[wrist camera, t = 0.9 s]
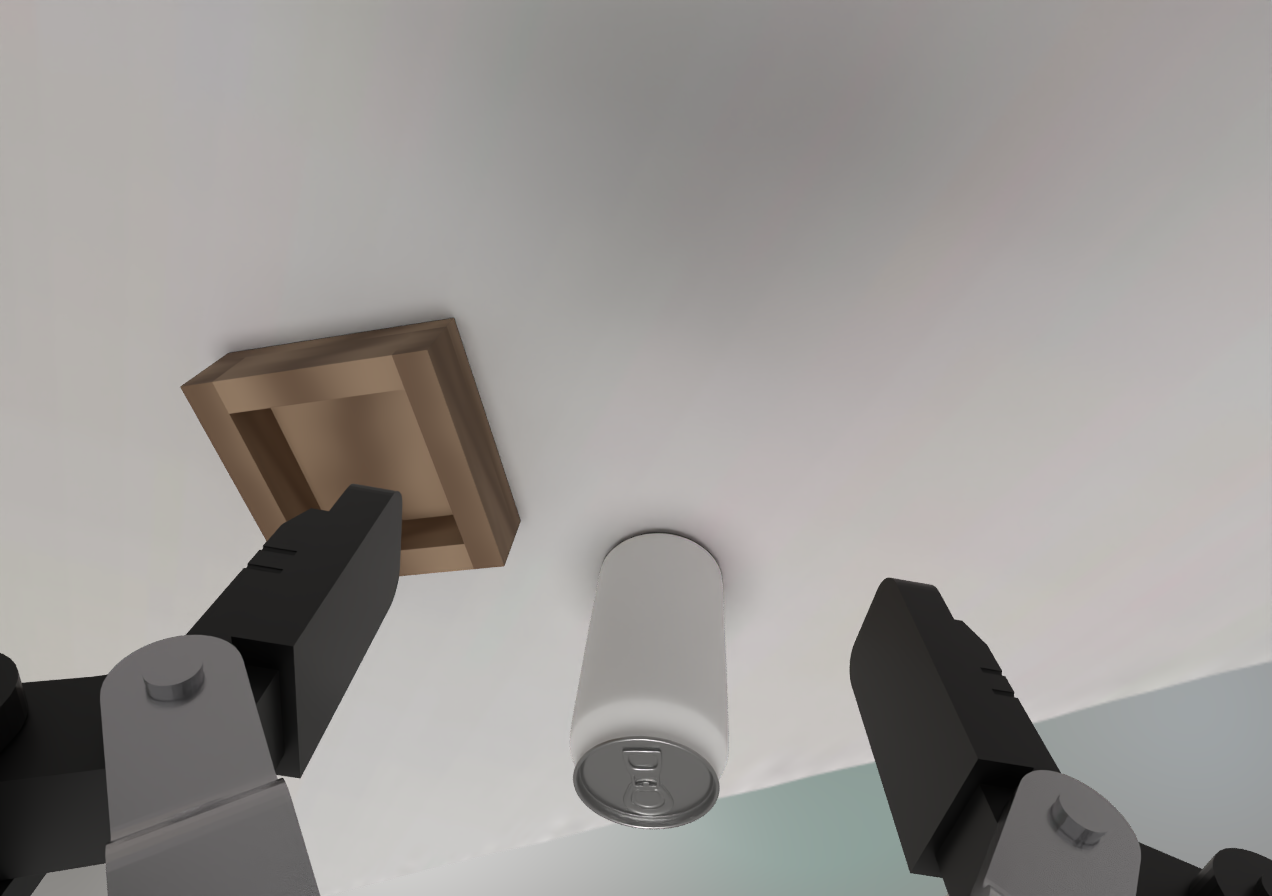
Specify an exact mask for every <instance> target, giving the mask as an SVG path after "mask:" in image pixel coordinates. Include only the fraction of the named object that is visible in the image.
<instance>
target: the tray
mask: <svg viewBox="0 0 1272 896" xmlns="http://www.w3.org/2000/svg"><path fill="white" fill-rule="evenodd" d="M181 389H182V391H183V393H184V394H185V396H186V398H187V400H188V402H189V403H190V405H191V407H192V409H193V410H194V412H195V414H196V416H197V418H198V419H199V421H200V423H201V425H202V427H203V428H204V430H205V432H206V434H207V435H208V437H209V439H210V441H211V443H212V444H213V446H214V448H215V450H216V452H217V453H218V455H219V457H220V459H221V461H222V462H223V464H224V466H225V468H226V469H227V471H228V473H229V475H230V477H231V478H232V480H233V482H234V484H235V486H236V487H237V489H238V491H239V493H240V494H241V496H242V498H243V500H244V502H245V503H246V505H247V507H248V509H249V511H250V512H251V514H252V516H253V518H254V520H255V521H256V523H257V525H258V527H259V528H260V530H261V532H262V534H263V536H264V537H265V539H266V541H268V540H269V538H270V537H271V536H272V535H273V534H274V533H275V531H276V530H277V529H278V528H279V527H280V526H281V525H282V524H283V523H285V522H287V521H289V520H290V519H292V518H294V517H296V516H298V515H300V514H301V513H303V512H305V511H307V510H309V509H311V508H313V509H319V510H325V511H329V510H330V509H331V508H332V507H333V505H334V504H335V503H336V501H337V500H338V499H339V498H340V496H341V495H342V494H343V493H344V491H345V490H346V489H347V487H348V486H349V485H351V484H359V485H365V486H371V487H376V488H382V489H388V490H394V491H399V492H400V493H401V495H402V529H401V556H400V573H399V576H406V575H417V574H427V573H438V572H448V571H459V570H469V569H480V568H490V567H501V566H505V563H506V560H507V557H508V555H509V552H510V549H511V546H512V544H513V541H514V538H515V535H516V533H517V530H518V527H519V524H520V518H519V515H518V512H517V509H516V506H515V503H514V499H513V496H512V493H511V490H510V487H509V484H508V481H507V478H506V475H505V472H504V469H503V466H502V463H501V460H500V457H499V454H498V451H497V448H496V445H495V442H494V439H493V436H492V432H491V429H490V426H489V423H488V420H487V417H486V414H485V411H484V408H483V405H482V402H481V399H480V396H479V393H478V390H477V387H476V384H475V381H474V378H473V375H472V372H471V369H470V366H469V362H468V359H467V356H466V353H465V350H464V347H463V344H462V341H461V338H460V335H459V332H458V329H457V326H456V323H455V320H454V318H450V319H444V320H438V321H431V322H425V323H418V324H412V325H406V326H399V327H393V328H386V329H380V330H373V331H367V332H361V333H354V334H348V335H341V336H335V337H329V338H322V339H316V340H309V341H303V342H297V343H290V344H284V345H277V346H271V347H264V348H258V349H252V350H245V351H239V352H232V353H228V354H226V355H225V356H223V357H222V358H221V359H219V360H218V361H216V362H215V363H213V364H212V365H211V366H209V367H208V368H206V369H205V370H203V371H202V372H201V373H199V374H198V375H196V376H195V377H193V378H192V379H191V380H189V381H188V382H186V383H185V384H183V385H182V386H181Z"/></svg>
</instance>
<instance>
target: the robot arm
mask: <svg viewBox="0 0 1272 896" xmlns="http://www.w3.org/2000/svg"><path fill="white" fill-rule="evenodd" d="M401 529H402V495H401V493H400V492H399V491H394V490H388V489H382V488H376V487H371V486H365V485H359V484H351V485H349V486H348V487H347V489H346V490H345V491H344V493H343V494H342V495H341V496H340V498H339V499H338V500H337V501H336V503H335V504H334V505H333V507H332V508H331V509H330V510H329V511H325V510H319V509H313V508H311V509H309V510H307V511H305V512H303V513H301V514H300V515H298V516H296V517H294V518H292V519H290V520H289V521H287V522H285V523H283V524H282V525H281V526H280V527H279V528H278V529H277V530H276V531H275V533H274V534H273V535H272V536H271V537H270V538H269V540H268V541H267V542H266V543H265V544H264V545H263V549H262V550H259V551H258V552H257V553H256V555H255V556H254V557H253V558H252V559H251V560H250V561H249V563H248V566H247V568H243V570H242V571H241V572H240V573H239V574H238V575H237V576H236V578H235V579H234V580H233V581H232V582H231V583H230V585H229V586H228V587H227V588H226V589H225V590H224V591H223V593H222V594H221V595H220V596H219V597H218V598H217V600H216V601H215V602H214V603H213V604H212V605H211V606H210V608H209V609H208V610H207V611H206V612H205V613H204V615H203V616H202V617H201V618H200V619H199V620H198V621H197V623H196V624H195V625H194V626H193V627H192V628H191V629H190V631H189V632H188V633H187V634H186V635H184V636H176V637H171V638H167V639H163V640H160V641H156V642H154V643H151V644H149V645H146V646H144V647H142V648H140V649H138V650H136V651H134V652H133V653H131V654H130V655H128V656H127V657H125V658H124V659H123V660H121V661H120V662H119V663H118V664H117V665H116V666H115V667H114V668H113V669H112V670H111V671H110V672H109V673H108V675H102V676H94V677H84V678H73V679H61V680H49V681H38V682H26V683H21V680H20V676H19V673H18V670H17V667H16V665H15V663H14V662H13V661H12V660H11V659H10V658H9V657H7V656H5V655H4V654H1V653H0V896H30V895H31V894H32V893H33V892H34V890H35V889H36V887H37V886H38V884H39V883H40V882H41V880H42V879H43V877H44V876H45V875H46V873H49V872H55V871H61V870H67V869H73V868H80V867H86V866H91V865H97V864H104V863H106V876H107V890H108V896H320V893H319V890H318V887H317V883H316V880H315V877H314V873H313V870H312V866H311V863H310V860H309V856H308V853H307V850H306V846H305V843H304V840H303V836H302V833H301V829H300V826H299V823H298V819H297V816H296V813H295V809H294V806H293V802H292V799H291V796H290V793H289V790H288V787H287V785H286V782H285V781H284V779H283V778H280V779H277V776H276V775H282V776H288V777H295V778H301V776H302V774H303V772H304V770H305V769H306V767H307V765H308V763H309V761H310V759H311V757H312V755H313V753H314V751H315V749H316V748H317V746H318V744H319V742H320V740H321V738H322V736H323V734H324V732H325V730H326V728H327V727H328V725H329V723H330V721H331V719H332V717H333V715H334V713H335V711H336V709H337V707H338V705H339V704H340V702H341V700H342V698H343V696H344V694H345V692H346V690H347V688H348V686H349V684H350V683H351V681H352V679H353V677H354V675H355V673H356V671H357V669H358V667H359V665H360V663H361V662H362V660H363V658H364V656H365V654H366V652H367V650H368V648H369V646H370V644H371V642H372V641H373V639H374V637H375V635H376V633H377V631H378V629H379V627H380V625H381V623H382V621H383V619H384V618H385V616H386V614H387V612H388V610H389V608H390V606H391V604H392V601H393V598H394V595H395V592H396V588H397V584H398V579H399V573H400V556H401ZM850 680H851V685H852V688H853V691H854V695H855V698H856V701H857V704H858V707H859V711H860V714H861V717H862V720H863V723H864V727H865V730H866V733H867V736H868V739H869V743H870V746H871V749H872V752H873V755H874V759H875V762H876V765H877V768H878V771H879V774H880V778H881V781H882V784H883V787H884V791H885V794H886V797H887V800H888V803H889V807H890V810H891V813H892V816H893V820H894V823H895V826H896V829H897V832H898V835H899V839H900V842H901V845H902V848H903V852H904V855H905V858H906V861H907V864H908V867H909V870H910V873H914V874H921V875H927V876H933V877H940V878H943V880H944V883H945V886H946V889H947V892H948V894H947V895H946V896H1272V860H1270V859H1268V858H1266V857H1264V856H1261V855H1259V854H1257V853H1254V852H1251V851H1247V850H1244V849H1237V848H1226V849H1223V850H1220V851H1219V852H1218V853H1217V854H1216V855H1215V856H1214V857H1213V858H1212V859H1211V860H1210V861H1209V862H1208V863H1207V865H1206V866H1205V867H1204V868H1203V869H1201V868H1198V867H1196V866H1194V865H1191V864H1189V863H1187V862H1184V861H1182V860H1179V859H1177V858H1175V857H1172V856H1170V855H1168V854H1165V853H1163V852H1161V851H1158V850H1156V849H1153V848H1151V847H1149V846H1146V845H1144V844H1142V843H1140V842H1138V840H1137V837H1136V835H1135V833H1134V831H1133V830H1132V828H1131V826H1130V825H1129V823H1128V822H1127V821H1126V819H1125V818H1124V817H1123V815H1122V814H1121V813H1120V812H1119V811H1118V810H1117V809H1116V808H1115V807H1114V806H1113V805H1112V804H1111V803H1110V802H1109V801H1108V800H1107V799H1105V798H1104V797H1103V796H1102V795H1100V794H1099V793H1098V792H1097V791H1095V790H1094V789H1092V788H1090V787H1089V786H1087V785H1086V784H1084V783H1082V782H1080V781H1079V780H1077V779H1074V778H1072V777H1070V776H1068V775H1065V774H1062V773H1061V772H1060V771H1059V769H1058V767H1057V765H1056V764H1055V762H1054V760H1053V759H1052V757H1051V755H1050V753H1049V752H1048V750H1047V748H1046V746H1045V745H1044V743H1043V741H1042V739H1041V738H1040V736H1039V734H1038V732H1037V731H1036V729H1035V727H1034V725H1033V724H1032V722H1031V720H1030V719H1029V717H1028V715H1027V713H1026V712H1025V710H1024V708H1023V706H1022V705H1021V703H1020V701H1019V699H1018V698H1015V697H1014V691H1013V689H1012V687H1011V686H1010V684H1009V682H1008V680H1007V679H1006V677H1005V676H1002V670H1001V668H1000V666H999V665H998V663H997V661H996V660H995V658H994V656H993V654H992V653H991V651H990V649H989V647H988V646H987V645H986V644H985V643H984V642H983V641H982V640H981V639H980V638H979V637H978V636H977V635H976V634H975V633H974V632H973V631H972V630H971V629H970V628H969V627H968V626H967V625H966V624H965V623H964V622H963V621H960V620H954V618H953V616H952V615H951V613H950V611H949V609H948V607H947V605H946V604H945V602H944V600H943V598H942V596H941V594H940V593H939V591H938V589H937V588H936V587H935V586H933V585H929V584H923V583H917V582H912V581H906V580H900V579H894V578H886V579H884V580H883V581H882V582H881V584H880V585H879V587H878V590H877V592H876V594H875V597H874V599H873V601H872V604H871V606H870V608H869V611H868V613H867V615H866V617H865V620H864V622H863V624H862V627H861V629H860V631H859V634H858V636H857V638H856V641H855V643H854V646H853V649H852V652H851V658H850Z"/></svg>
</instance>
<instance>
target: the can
mask: <svg viewBox="0 0 1272 896" xmlns="http://www.w3.org/2000/svg"><path fill="white" fill-rule="evenodd" d="M570 752H571V756H572V759H573V763H574V765H575V769H574V774H573V783H574V787H575V790H576V792H577V794H578V796H579V797H580V799H581V800H582V801H583V802H584V804H585V805H586V806H587V807H589V808H590V809H591V810H592V811H594V812H595V813H597V814H598V815H600V816H602V817H604V818H606V819H608V820H610V821H613V822H615V823H618V824H621V825H625V826H630V827H635V828H642V829H665V828H673V827H678V826H682V825H685V824H688V823H691V822H693V821H695V820H697V819H699V818H701V817H702V816H704V815H705V814H706V813H707V812H708V811H709V810H710V809H711V808H712V807H713V806H714V804H715V803H716V801H717V798H718V795H719V780H720V778H721V776H722V774H723V772H724V769H725V767H726V764H727V760H728V752H729V728H728V697H727V669H726V644H725V619H724V597H723V581H722V575H721V571H720V569H719V566H718V564H717V563H716V561H715V559H714V558H713V557H712V556H711V555H710V553H709V552H707V551H706V550H705V549H704V548H703V547H701V546H700V545H698V544H697V543H695V542H693V541H691V540H689V539H686V538H684V537H681V536H678V535H673V534H667V533H650V534H644V535H640V536H636V537H633V538H630V539H628V540H626V541H624V542H622V543H620V544H619V545H617V546H616V547H615V548H614V549H613V550H612V551H611V552H610V553H609V554H608V555H607V557H606V558H605V560H604V562H603V564H602V567H601V570H600V574H599V578H598V583H597V588H596V593H595V599H594V604H593V609H592V614H591V620H590V625H589V630H588V636H587V641H586V646H585V652H584V657H583V663H582V668H581V674H580V679H579V685H578V690H577V696H576V701H575V707H574V713H573V718H572V725H571V731H570Z"/></svg>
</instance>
